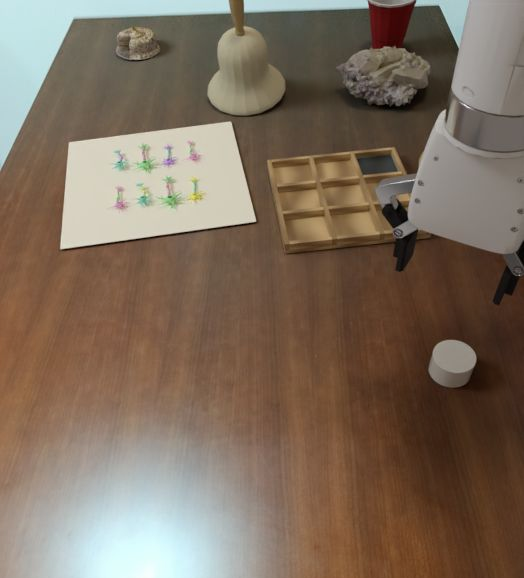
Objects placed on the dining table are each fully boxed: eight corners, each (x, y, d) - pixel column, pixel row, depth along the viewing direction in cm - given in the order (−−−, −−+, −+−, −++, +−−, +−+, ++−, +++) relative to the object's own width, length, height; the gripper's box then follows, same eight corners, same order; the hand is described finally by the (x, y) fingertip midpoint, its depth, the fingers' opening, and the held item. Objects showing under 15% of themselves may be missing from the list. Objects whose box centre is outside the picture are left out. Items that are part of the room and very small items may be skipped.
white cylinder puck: (462, 352, 72) (468, 337, 70) (476, 385, 69) (482, 370, 67) (423, 357, 72) (427, 341, 70) (435, 390, 69) (440, 375, 67)
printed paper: (256, 223, 90) (256, 215, 89) (60, 251, 88) (57, 243, 87) (231, 123, 109) (230, 115, 108) (69, 143, 107) (67, 136, 105)
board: (393, 156, 100) (394, 146, 98) (430, 238, 86) (432, 228, 85) (267, 169, 99) (267, 159, 97) (284, 253, 85) (284, 244, 84)
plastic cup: (350, 57, 123) (355, -6, 114) (374, 37, 129) (380, -24, 119) (397, 68, 119) (405, 5, 110) (420, 48, 125) (430, -15, 115)
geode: (427, 125, 115) (384, 81, 121) (455, 80, 108) (409, 36, 114) (366, 121, 105) (324, 74, 112) (393, 72, 99) (346, 25, 105)
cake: (143, 39, 134) (141, 14, 130) (169, 53, 130) (167, 27, 126) (106, 50, 130) (102, 24, 126) (132, 65, 125) (128, 38, 121)
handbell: (291, 72, 117) (286, -64, 95) (280, 124, 110) (271, -10, 88) (217, 69, 119) (195, -65, 98) (201, 120, 112) (174, -11, 91)
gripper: (630, 116, 43) (551, 284, 56) (406, 69, 49) (383, 230, 62) (611, 170, 39) (530, 336, 52) (370, 111, 45) (353, 274, 58)
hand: (450, 278), depth 57 cm, fingers open, 9 cm apart
